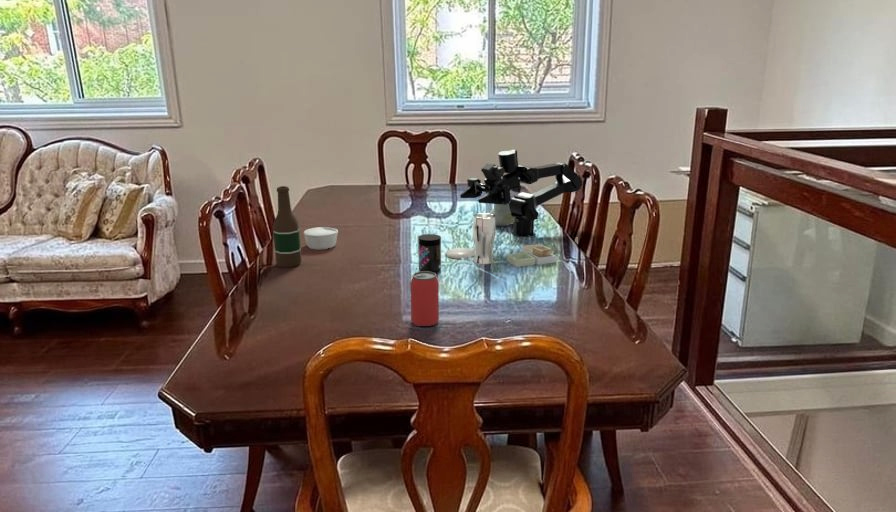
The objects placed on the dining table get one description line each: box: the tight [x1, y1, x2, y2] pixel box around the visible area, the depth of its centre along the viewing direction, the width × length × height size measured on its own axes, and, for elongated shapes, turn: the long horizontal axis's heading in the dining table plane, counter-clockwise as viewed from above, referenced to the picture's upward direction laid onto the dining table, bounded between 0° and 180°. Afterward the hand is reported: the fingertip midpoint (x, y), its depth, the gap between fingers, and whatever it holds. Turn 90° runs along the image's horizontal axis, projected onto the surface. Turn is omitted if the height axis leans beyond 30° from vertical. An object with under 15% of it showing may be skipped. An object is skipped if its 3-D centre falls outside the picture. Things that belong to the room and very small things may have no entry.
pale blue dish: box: [528, 252, 557, 266], centre depth 189 cm, size 6×6×2 cm
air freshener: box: [488, 203, 515, 227], centre depth 232 cm, size 11×8×10 cm
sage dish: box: [506, 252, 536, 268], centre depth 187 cm, size 6×6×2 cm
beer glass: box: [472, 212, 497, 265], centre depth 187 cm, size 7×7×15 cm
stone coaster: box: [445, 247, 475, 260], centre depth 197 cm, size 10×10×1 cm
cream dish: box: [521, 243, 544, 254], centre depth 196 cm, size 6×6×2 cm
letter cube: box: [533, 245, 552, 258], centre depth 189 cm, size 4×4×4 cm
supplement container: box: [417, 233, 442, 274], centre depth 180 cm, size 7×7×10 cm
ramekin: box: [303, 226, 339, 251], centre depth 206 cm, size 11×11×5 cm
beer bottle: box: [272, 185, 302, 269], centre depth 184 cm, size 8×8×24 cm
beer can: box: [409, 271, 440, 327], centre depth 144 cm, size 7×7×12 cm
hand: (469, 198), depth 200 cm, fingers open, 9 cm apart
